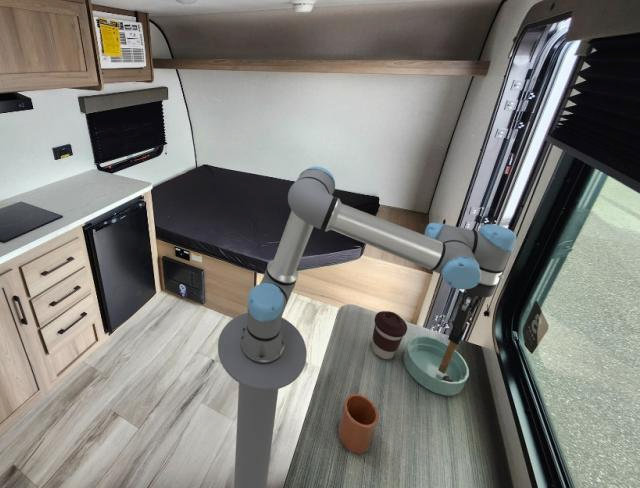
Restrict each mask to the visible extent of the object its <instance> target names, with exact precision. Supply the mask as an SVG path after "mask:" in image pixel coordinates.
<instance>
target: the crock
mask: <svg viewBox="0 0 640 488" xmlns="http://www.w3.org/2000/svg"><path fill="white" fill-rule="evenodd" d="M378 422H379V412H378V410H377V407H376V405H375V404H374V402H373V401H372V400H371V399H370V398H368V397H367V396H364V395H362V394H360V393H352V394H349V395H348V396H347V397H345V400H344V403H343V407H342V410H341V416H340V419H339V423H338V426H337V427H338V428H337V433H338V437H339V440H340V442H341V444H342V445H343V446H344V447H345V449H347V450H349V451H350V452H352V453H355V454H363V453H365V452H367V451H368V450H369V448H370V446H371V443H372V441H373V437H374V434H375V431H376V428H377V424H378Z"/></svg>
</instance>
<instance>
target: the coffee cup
mask: <svg viewBox="0 0 640 488" xmlns="http://www.w3.org/2000/svg"><path fill="white" fill-rule="evenodd" d="M407 332H408V325H407V322H406V321H405V320H404V319H403V317H401V316H400V315H399V314H397V313H396V312H394V311H391V310H390V311H389V310H382V311H378V312H377V313H376V314H375V316H374V327H373V333H372V342H371V349H372V351H373V352H374V354H375V355H376V356H378V357H379V358H381V359H385V360H391V359H392V358H393V357H394V356H395V354H396V352H397V350H398V349H399V347H400V344H401V342H402V341H403V339H404V336H405V335H406V334H407Z"/></svg>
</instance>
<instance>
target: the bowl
mask: <svg viewBox="0 0 640 488" xmlns="http://www.w3.org/2000/svg"><path fill="white" fill-rule="evenodd" d="M448 345H449V343H446V342H444V341H442V340H440V339H438V338H435V337H432V336H427V335H416V336H414V337H411V338H410V339H409V341H407V345H406V347H405V350H404V354H403V364H404V367H405V368H406V370H407V373H409V375H410V376H411V377H412V378H413V379H414V380H415V381H416V382H417V383H418V384H419V385H421V386H422V387H423V388H425V389H427V390H429V391H431V392H433V393H435V394H438V395H442V396H446V397H447V396H456V395H458V394H460V393H461V392H462V391H463V389H464V387H465V385H466V383H467V380H468V379H469V377H470V369H469V366H468V363H467V362H466V360H465V359H464V358H463V356H462V355H461V354H460V353H459V352H458V351H457V350H456V349H455V352H454V354H453V356H452V359H451V361H450V364H449V366H448V368H447V371H446V372H445V374H443V373H442V372H440V371H439V370H438V369H439V367H440V364H441V362H442V359H443V357H444V354H445V352H446V350H447V347H448ZM446 375H447V376H450V377H451V378H452V379H453V382H448V381H444V380H442V378H443V376H446Z"/></svg>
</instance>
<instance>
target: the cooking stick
mask: <svg viewBox="0 0 640 488" xmlns="http://www.w3.org/2000/svg"><path fill="white" fill-rule="evenodd" d="M467 323H468V322H467ZM467 323H466V324H467ZM465 326H466V325H465ZM457 346H458V345H457V344H455V343H453V342H452V341H450V340H449V343H448V347H447V350H446V352H445V354H444V357H443V359H442V362H441V364H440V367H439V369H438V370H439V371H440V372H442V373H443V374H445V372H446V371H447V368H448V366H449V364H450V361H451V359H452V356H453V354H454V352H455V350H456V349H457V348H458V347H457Z"/></svg>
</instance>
